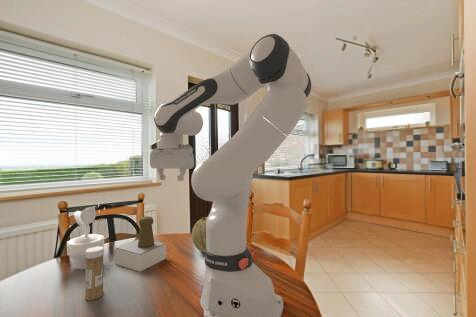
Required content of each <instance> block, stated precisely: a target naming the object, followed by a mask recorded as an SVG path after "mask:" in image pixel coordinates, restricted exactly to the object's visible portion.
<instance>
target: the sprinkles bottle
mask: <svg viewBox="0 0 476 317" xmlns="http://www.w3.org/2000/svg"><path fill="white" fill-rule="evenodd" d="M104 255H105V246H104V247H101V246H98V247H92V248H89V249H87V250H86V251H85V258H86V269H85V283H84V284H85V296H84V297H85V300H87V301H95V300H97V299H99V298H101V297H102V296H103V295H104V293H105V291H104Z"/></svg>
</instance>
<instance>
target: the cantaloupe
mask: <svg viewBox="0 0 476 317" xmlns="http://www.w3.org/2000/svg"><path fill="white" fill-rule="evenodd" d="M207 218H208V216H205V217H204V216H203V217H201V218H200V219H199V220H197V221H196V222H195V223H194V225H193V227H192V229H191V240H192V243H193V245H194V247H195V248H196V249H197V250H198V251H200V252H201V253H202V252H203V253H205V248H206V222H207Z"/></svg>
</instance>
